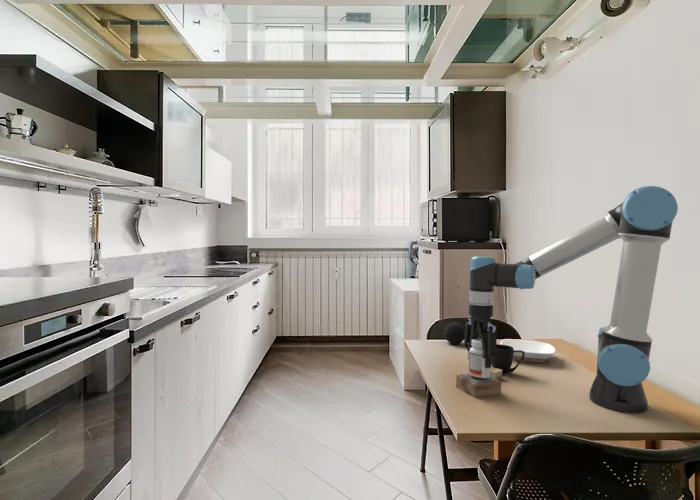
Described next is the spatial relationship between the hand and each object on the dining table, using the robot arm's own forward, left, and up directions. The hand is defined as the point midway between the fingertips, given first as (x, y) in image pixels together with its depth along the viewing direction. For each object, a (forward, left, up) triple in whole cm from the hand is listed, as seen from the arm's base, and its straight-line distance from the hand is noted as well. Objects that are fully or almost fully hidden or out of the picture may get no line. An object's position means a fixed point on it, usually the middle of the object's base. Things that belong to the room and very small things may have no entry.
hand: (478, 374), depth 138 cm
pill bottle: (0, 0, -1) cm, 1 cm away
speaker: (+55, -29, -6) cm, 62 cm away
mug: (+12, -22, -6) cm, 26 cm away
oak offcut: (+9, -13, -5) cm, 17 cm away
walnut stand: (0, 0, -5) cm, 5 cm away
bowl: (+26, -45, -6) cm, 52 cm away
